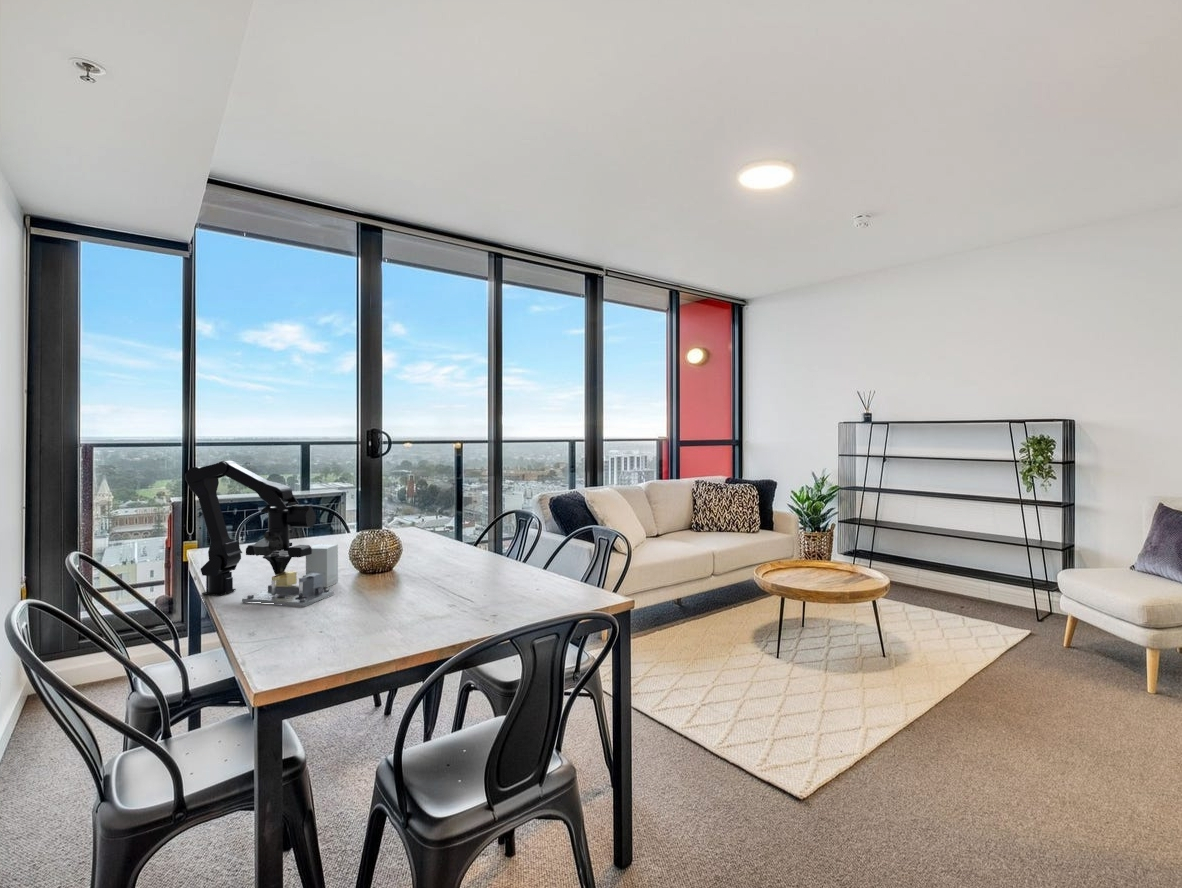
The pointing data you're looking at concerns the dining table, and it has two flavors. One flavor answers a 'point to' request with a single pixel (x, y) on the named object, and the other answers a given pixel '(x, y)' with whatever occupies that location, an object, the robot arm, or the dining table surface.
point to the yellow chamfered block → (284, 580)
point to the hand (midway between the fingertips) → (278, 578)
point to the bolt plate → (286, 600)
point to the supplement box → (324, 563)
